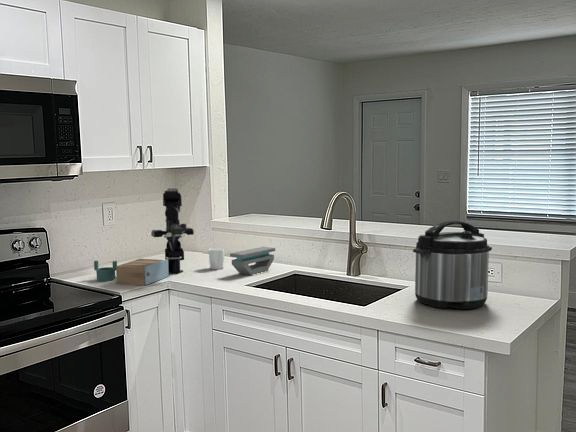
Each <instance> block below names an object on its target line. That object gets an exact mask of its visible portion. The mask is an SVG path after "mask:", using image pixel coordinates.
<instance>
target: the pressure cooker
mask: <svg viewBox="0 0 576 432" xmlns="http://www.w3.org/2000/svg"><path fill="white" fill-rule="evenodd" d="M452 225H460V226H461V227H462V229H463V231H445V232H444V231H443V229H444V228H445V227H447V226H452ZM442 231H443V232H442ZM492 250H493V247H491V246H489V245H488V239H487V238H486V237H485V233H482V232H480V229H478V228H477V227H476V226H474V225H473V224H471V223H468V222H465V221H461V220H449V221H448V220H447V221H443V222H440V223H437V224H435V225H433V226H431V227H429V228H427V229H426V230H425V231H424V234H421V235H419V236H418V237H417V242H416V246H415V248H413V250H412V252H413V253H415V272H414V273H415V274H414V275H415V277H414V279H415V282H414V283H415V284H414V292H415V293H414V295H415V298H416V299H417V301H418V302H420V303H422V304H425V305H429V306H432V307H436V308H442V309H446V308H448V307H449V308H453V309H461V310H462V309H463V310H467V309H476V308H480V307H482V306H484V305H485V303H486V302H487V300H488V291H489V290H488V289H489V285H488V284H489V263H490V262H489V261H490V260H489V259H490V257H489V256H490V255H489V254H490V252H491V251H492Z"/></svg>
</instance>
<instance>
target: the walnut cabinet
mask: <svg viewBox="0 0 576 432" xmlns="http://www.w3.org/2000/svg"><path fill="white" fill-rule="evenodd" d="M163 260H164V259H153V258H138V259H135V260H132V261H128V262H125V263H122V264H119V265H117V266H116V271H115V278H116V285H127V286H128V285H130V286H131V285H133V286H142V287H143V286H144V287H145V286H146V285H145V274H144V267H145V266H148V265H151V264H154V263H157V262H160V261H163Z"/></svg>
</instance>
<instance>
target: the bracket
mask: <svg viewBox="0 0 576 432" xmlns="http://www.w3.org/2000/svg"><path fill="white" fill-rule="evenodd" d="M116 266H118V261H117V260H113V261H112V266H108V267H107V266H106V267H99V260H93V270H94V271H95V272H96V282H101V283H105V282H112V281H115V280H116Z"/></svg>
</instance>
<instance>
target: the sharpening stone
mask: <svg viewBox="0 0 576 432" xmlns="http://www.w3.org/2000/svg"><path fill="white" fill-rule="evenodd" d="M272 252H276V247H270V246H269V247H268V246H260V247H254V248H250V249H245V250H239V251H235V252H231V253H229V257H230V258H235V259H232V260H231V265H232V267H234V269H235V270H236V271H237V272H238V274H240V273H242V275H246V274H249V275H248V276H254V275H253V274H256V275H258V274H257V273H260V274H262V273H261V272H263V273H266V272H265V271H267V272H268V271H269V269H270V267H271V265H272V263H273V262H274V260H275V255H274V254H270V253H272Z"/></svg>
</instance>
